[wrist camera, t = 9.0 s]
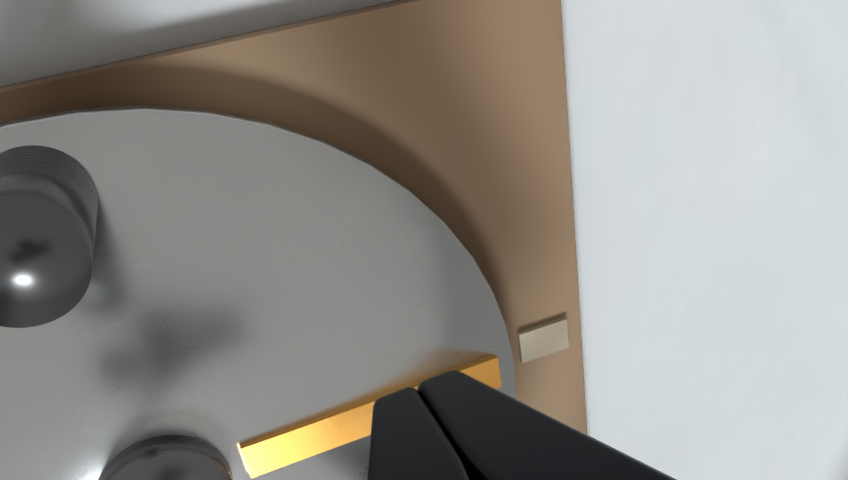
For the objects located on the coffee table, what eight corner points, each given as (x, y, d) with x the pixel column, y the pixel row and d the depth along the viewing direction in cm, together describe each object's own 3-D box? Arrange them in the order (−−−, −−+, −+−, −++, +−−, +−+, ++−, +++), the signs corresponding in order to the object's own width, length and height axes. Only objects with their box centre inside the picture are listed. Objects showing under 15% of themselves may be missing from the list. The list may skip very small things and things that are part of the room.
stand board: (-117, 841, 22) (-123, 866, 22) (-679, 235, 13) (-716, 251, 12) (587, 548, 27) (597, 562, 27) (548, -33, 18) (562, -30, 18)
